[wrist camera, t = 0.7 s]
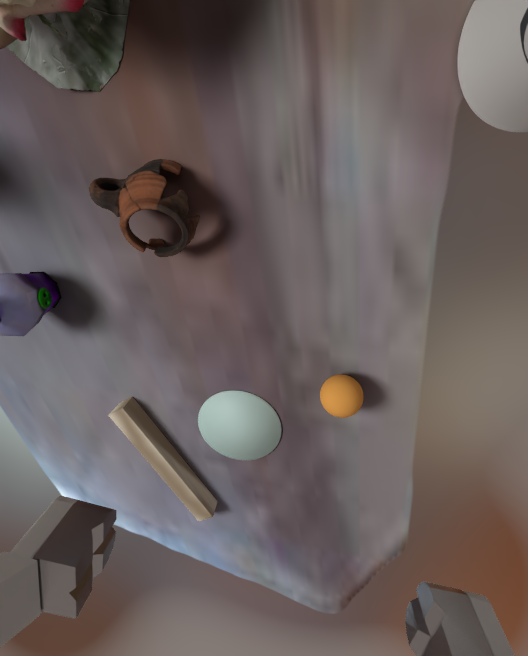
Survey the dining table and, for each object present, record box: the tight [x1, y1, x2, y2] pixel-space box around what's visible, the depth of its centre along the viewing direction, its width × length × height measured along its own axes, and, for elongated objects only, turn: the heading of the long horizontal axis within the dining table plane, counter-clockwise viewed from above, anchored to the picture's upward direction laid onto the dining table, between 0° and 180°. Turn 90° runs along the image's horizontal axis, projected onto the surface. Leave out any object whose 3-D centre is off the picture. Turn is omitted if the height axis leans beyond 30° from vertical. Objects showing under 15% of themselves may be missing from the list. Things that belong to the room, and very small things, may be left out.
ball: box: [320, 374, 363, 418], centre depth 45 cm, size 6×6×6 cm
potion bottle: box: [0, 272, 61, 336], centre depth 44 cm, size 9×9×12 cm
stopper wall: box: [109, 397, 218, 521], centre depth 57 cm, size 3×24×3 cm, turn 31°
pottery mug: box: [89, 159, 200, 257], centre depth 40 cm, size 12×10×8 cm
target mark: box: [198, 390, 282, 460], centre depth 53 cm, size 13×13×1 cm
